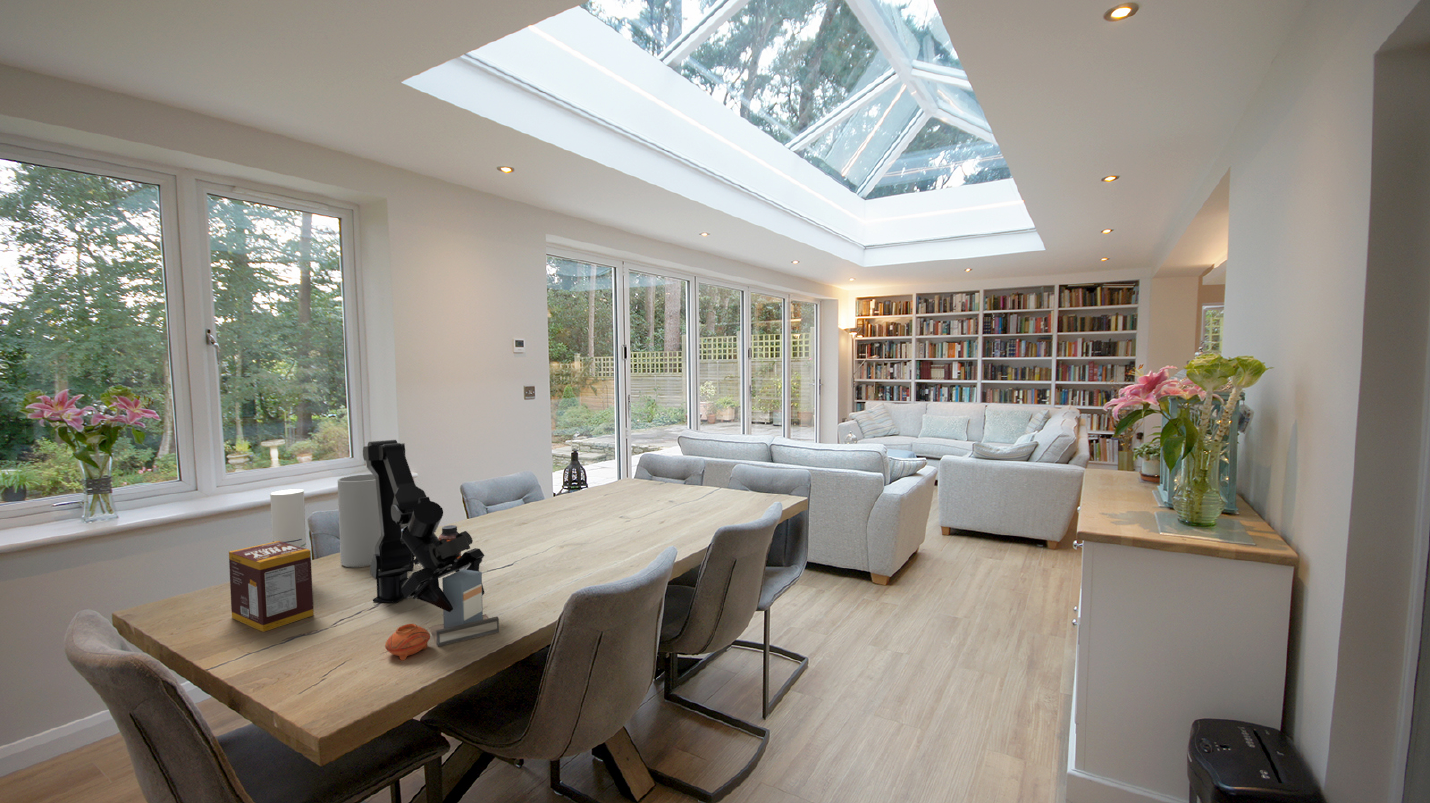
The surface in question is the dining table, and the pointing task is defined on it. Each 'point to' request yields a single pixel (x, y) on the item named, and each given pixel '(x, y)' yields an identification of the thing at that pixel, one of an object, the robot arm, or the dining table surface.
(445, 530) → the supplement bottle
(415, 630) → the pot
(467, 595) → the blue-grey carton
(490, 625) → the plate
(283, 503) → the cylindrical container
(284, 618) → the supplement box
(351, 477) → the cylinder vase
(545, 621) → the dining table surface
